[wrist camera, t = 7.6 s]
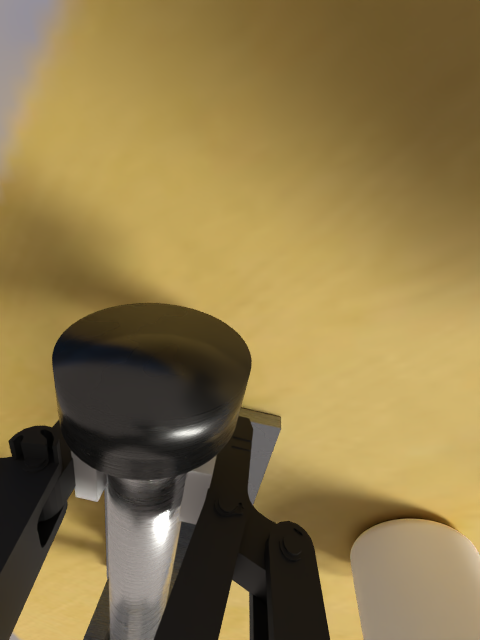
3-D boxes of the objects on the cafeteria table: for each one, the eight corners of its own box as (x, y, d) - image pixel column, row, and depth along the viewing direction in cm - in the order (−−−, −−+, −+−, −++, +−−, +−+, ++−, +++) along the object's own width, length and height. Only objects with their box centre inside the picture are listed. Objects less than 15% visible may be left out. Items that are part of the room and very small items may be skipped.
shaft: (113, 290, 11) (-5, 387, 6) (257, 323, 11) (241, 443, 6) (114, 590, 22) (72, 702, 17) (184, 606, 21) (160, 722, 17)
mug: (435, 594, 29) (494, 758, 21) (327, 573, 30) (344, 726, 22) (502, 524, 24) (617, 711, 16) (367, 498, 24) (411, 669, 16)
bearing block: (108, 377, 21) (-117, 671, 9) (280, 416, 21) (283, 766, 9) (111, 567, 34) (19, 793, 22) (218, 592, 34) (184, 832, 22)
